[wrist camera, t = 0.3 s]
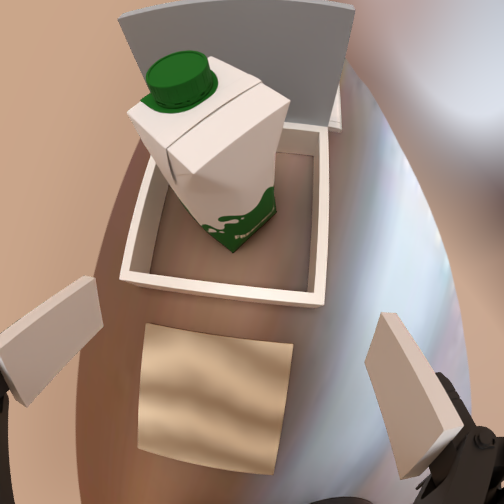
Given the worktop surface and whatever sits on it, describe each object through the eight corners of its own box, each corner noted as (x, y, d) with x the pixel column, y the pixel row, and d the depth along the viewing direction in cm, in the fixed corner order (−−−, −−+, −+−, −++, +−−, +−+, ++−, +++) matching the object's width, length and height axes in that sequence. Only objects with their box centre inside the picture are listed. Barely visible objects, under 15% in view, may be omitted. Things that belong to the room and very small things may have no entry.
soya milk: (235, 166, 34) (208, 29, 15) (288, 213, 32) (310, 76, 13) (182, 212, 33) (102, 95, 14) (233, 265, 31) (180, 168, 12)
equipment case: (314, 308, 29) (409, 269, 9) (139, 286, 31) (-2, 227, 10) (320, 111, 36) (343, -15, 16) (186, 105, 38) (147, -10, 17)
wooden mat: (273, 471, 24) (273, 475, 23) (141, 445, 26) (137, 448, 25) (292, 343, 28) (293, 344, 27) (149, 323, 30) (146, 322, 29)
